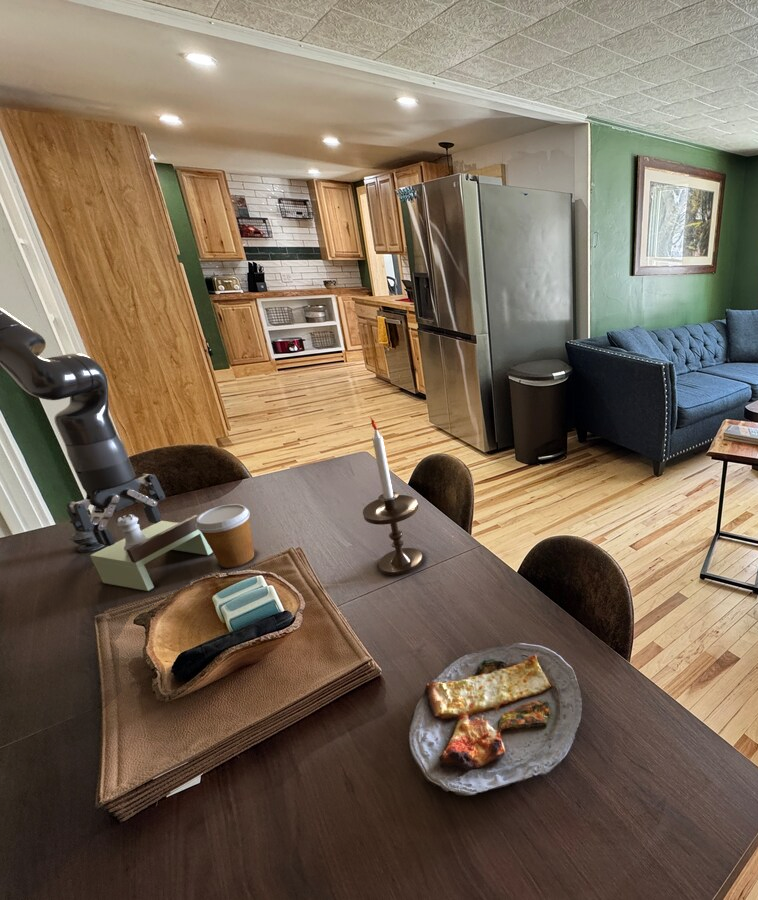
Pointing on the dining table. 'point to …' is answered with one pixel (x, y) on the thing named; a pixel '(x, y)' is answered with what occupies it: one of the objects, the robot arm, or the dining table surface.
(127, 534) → the rook chess piece
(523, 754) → the food plate
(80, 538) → the grey upright piece
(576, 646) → the dining table surface
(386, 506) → the candlestick
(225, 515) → the disposable coffee cup
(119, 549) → the shelf
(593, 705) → the dining table surface
